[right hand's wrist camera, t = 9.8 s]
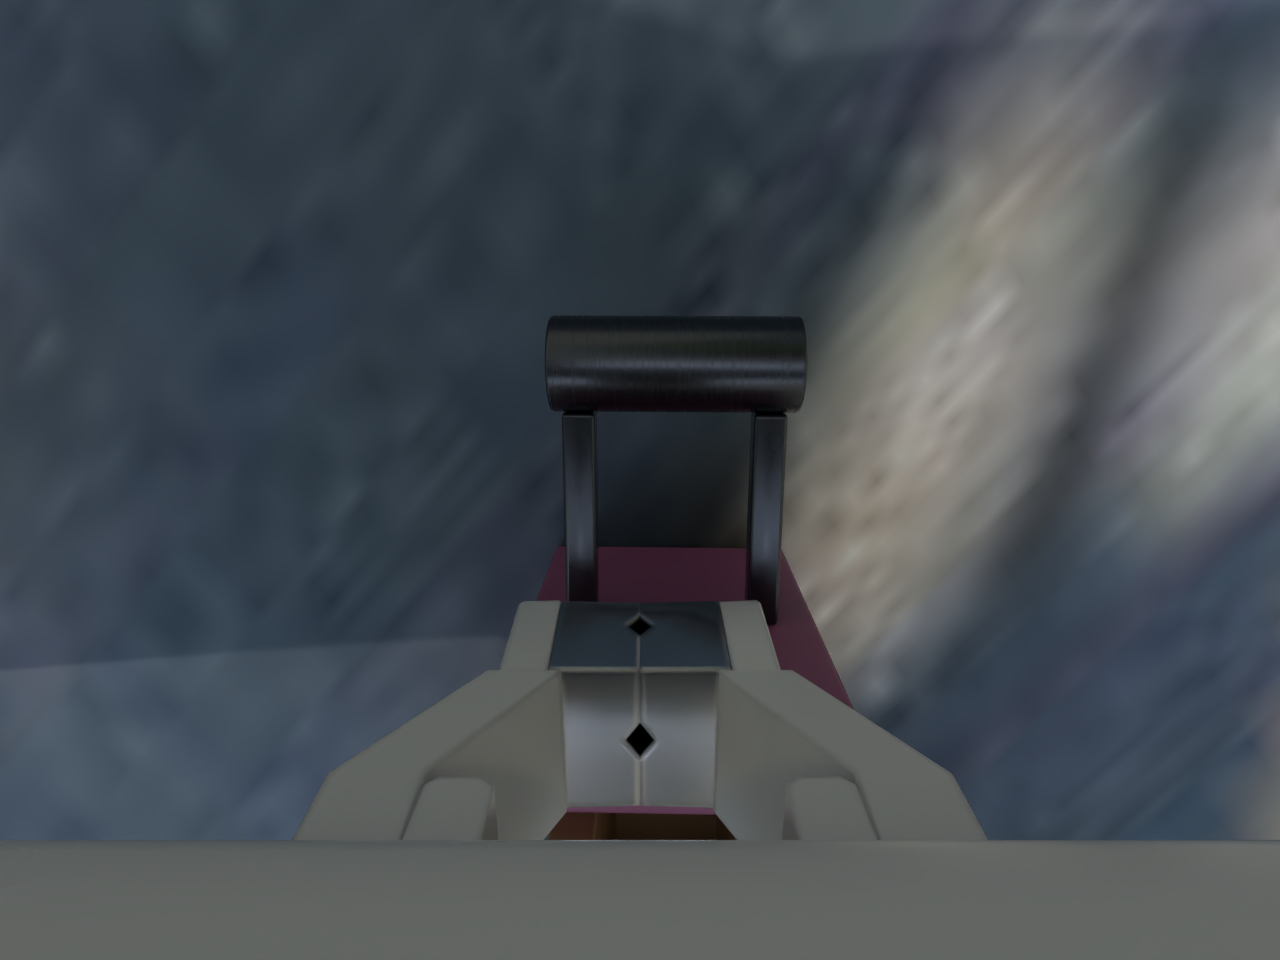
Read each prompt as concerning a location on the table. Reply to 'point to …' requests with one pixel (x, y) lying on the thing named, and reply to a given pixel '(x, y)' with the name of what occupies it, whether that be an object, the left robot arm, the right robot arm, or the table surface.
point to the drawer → (581, 571)
